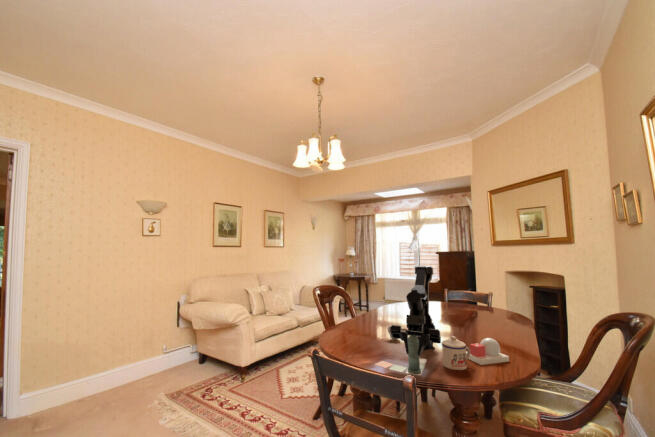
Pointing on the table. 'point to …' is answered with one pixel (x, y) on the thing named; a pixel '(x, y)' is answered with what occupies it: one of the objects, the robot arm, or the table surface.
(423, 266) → the robot arm
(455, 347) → the teacup with lid
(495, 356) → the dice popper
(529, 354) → the table surface
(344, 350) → the table surface
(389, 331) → the frog figurine
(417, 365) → the pawn
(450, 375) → the table surface
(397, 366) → the track
